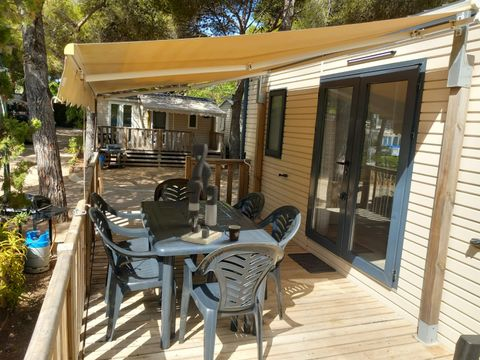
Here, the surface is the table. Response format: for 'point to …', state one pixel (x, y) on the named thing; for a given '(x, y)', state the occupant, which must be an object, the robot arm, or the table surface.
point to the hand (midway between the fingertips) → (193, 232)
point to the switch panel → (199, 239)
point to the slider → (205, 233)
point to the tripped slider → (197, 228)
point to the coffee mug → (233, 233)
